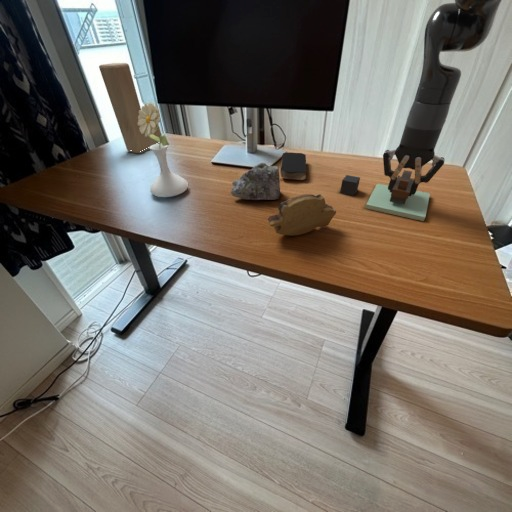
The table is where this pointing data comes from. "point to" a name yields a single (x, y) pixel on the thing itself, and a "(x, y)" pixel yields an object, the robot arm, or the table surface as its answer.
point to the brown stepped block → (402, 188)
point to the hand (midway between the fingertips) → (400, 192)
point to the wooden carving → (302, 215)
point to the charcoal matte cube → (350, 185)
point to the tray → (411, 209)
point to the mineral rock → (258, 183)
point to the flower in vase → (160, 154)
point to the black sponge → (293, 166)
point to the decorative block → (126, 106)
